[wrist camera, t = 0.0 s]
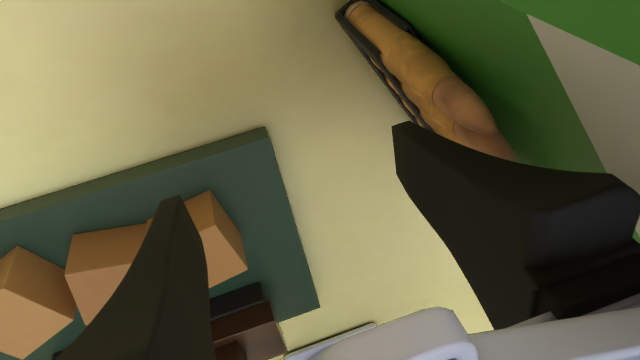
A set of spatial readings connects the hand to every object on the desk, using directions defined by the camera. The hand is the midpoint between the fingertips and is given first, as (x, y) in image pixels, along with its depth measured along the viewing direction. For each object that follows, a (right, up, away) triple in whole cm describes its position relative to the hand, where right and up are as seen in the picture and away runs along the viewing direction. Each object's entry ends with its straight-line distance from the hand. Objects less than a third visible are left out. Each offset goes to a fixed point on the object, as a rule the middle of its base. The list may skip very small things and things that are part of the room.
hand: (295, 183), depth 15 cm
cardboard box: (-6, -3, +11) cm, 13 cm away
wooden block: (-15, -5, +10) cm, 19 cm away
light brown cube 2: (-10, -4, +11) cm, 15 cm away
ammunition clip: (+5, +6, +11) cm, 13 cm away
